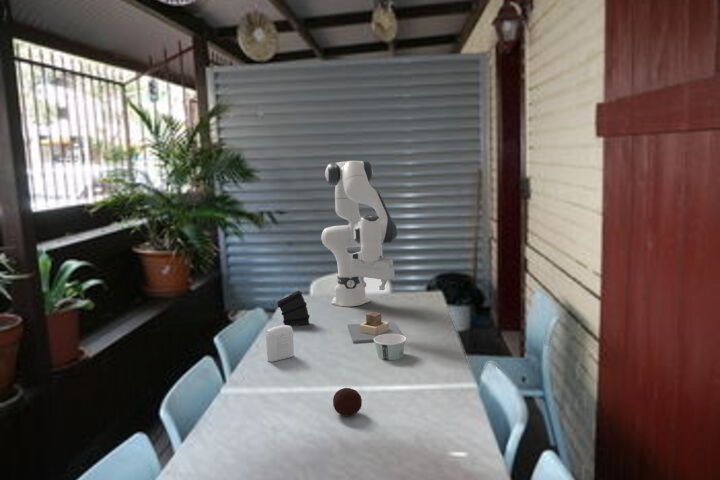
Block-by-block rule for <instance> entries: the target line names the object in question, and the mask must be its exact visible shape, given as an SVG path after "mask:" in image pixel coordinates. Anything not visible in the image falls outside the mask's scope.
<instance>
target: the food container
mask: <svg viewBox="0 0 720 480" xmlns="http://www.w3.org/2000/svg"><path fill="white" fill-rule="evenodd" d="M406 341H407V337H406V336H404V334H403V335H399V334H382V335H379V336H376V337H375V338H374V342H373V343H374V345H375V348H376V349H375V350H376V353H377V357H378V358H379V359H380V360H384V361H396V360H400V359H402V358H403V357H404V352H405V343H406Z"/></svg>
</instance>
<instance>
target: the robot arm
mask: <svg viewBox="0 0 720 480" xmlns="http://www.w3.org/2000/svg"><path fill="white" fill-rule="evenodd" d="M373 170H374V169H373V167H372V164H371V163H370V162H369V161H367V160H347V161H346V160H345V161H339V162H335V161H334V162H331V163H328V164H327V165H326V168H325V172H324V175H325V179H326V181H327V183H328V184H329V185H332V186H335V189H334V202H335V214H336V215H337V216H338V217H340V218H341V219H343V220H346V221H348V224H346V225H344V224H343V225H333V226H327V227H325V228H324V229H323V230H322V232H321V235H320V238H321V243H322V245H323V246H324V247H325V248H327V250H330V252H331V253H332V254H333V256H334V258H335V260H336V264H337V278H336V279H337V281H336V282H337V285H336V286H335V287H334V289H333V294H334V296H333V298H332V300H331V305H335V306H341V307H356V306H361V305H364V304H366V303H370V299H369V298H368V297H367V296H366V288H367V282H365V278H368V279H373V280H380V282H381V284H380V285H379V286H378V287H379V289H378V290H380V291H384V290H385V289H386V284H387V282H388V281H392V280H394V278H395V267H394V260H393V259H392V258H391V257H389V256H383V245H382V244H392V242H394V241H395V239H396V238H397V236H398V229H397V225H396V223H395V222H394V220H393V219H392V217H391V214H390V213H389V211H388V208H387V206H386V203H385V202H384V199H383V197H382V195H381V194H380V192H379V191H378V190H377V189H375V188H373V186H371V184H370V183H369V182H370V181H371V180H372V178H373V172H374V171H373ZM359 204H361V205H366V206H368V207H371V208H373V210H375V213H376V214H364V215H363V216H361V214H360V208H359ZM358 247H359V248H360V250H359V251H357V252H354V253H350V252H348V248H358Z"/></svg>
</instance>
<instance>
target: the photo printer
mask: <svg viewBox="0 0 720 480" xmlns="http://www.w3.org/2000/svg"><path fill="white" fill-rule="evenodd" d="M292 327H293V326H288V325H284V324H280V325H278V326H273V327H271V328H270V329H267V331H265V332H266V333H265V338H266V339H265V341H266V357H267V361H268V362H276V361H280V360H281V361H282V360H285V359H289V358H293V357H294V356H295V353H294V352H295V350H294V348H295V347H294V330H293V328H292Z"/></svg>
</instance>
